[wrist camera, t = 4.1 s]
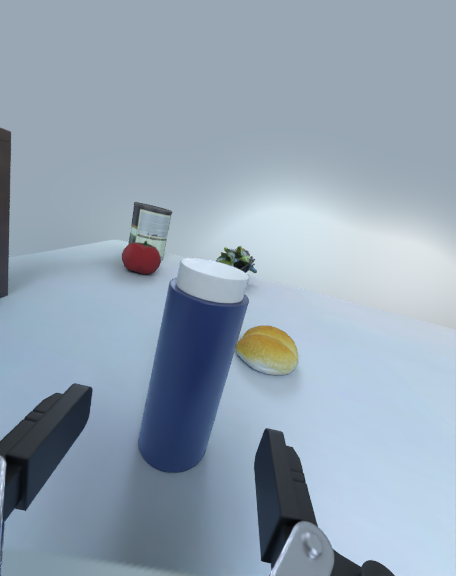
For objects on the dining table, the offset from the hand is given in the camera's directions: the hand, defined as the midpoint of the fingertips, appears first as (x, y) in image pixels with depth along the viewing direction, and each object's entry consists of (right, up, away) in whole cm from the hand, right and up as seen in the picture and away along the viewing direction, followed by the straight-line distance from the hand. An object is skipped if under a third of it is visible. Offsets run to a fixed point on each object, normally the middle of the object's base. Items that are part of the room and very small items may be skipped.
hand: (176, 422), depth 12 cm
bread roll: (+7, -4, +24) cm, 26 cm away
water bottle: (-2, -6, +8) cm, 10 cm away
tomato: (-18, +9, +48) cm, 52 cm away
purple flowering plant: (+3, +9, +64) cm, 65 cm away
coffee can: (-22, +15, +64) cm, 70 cm away
